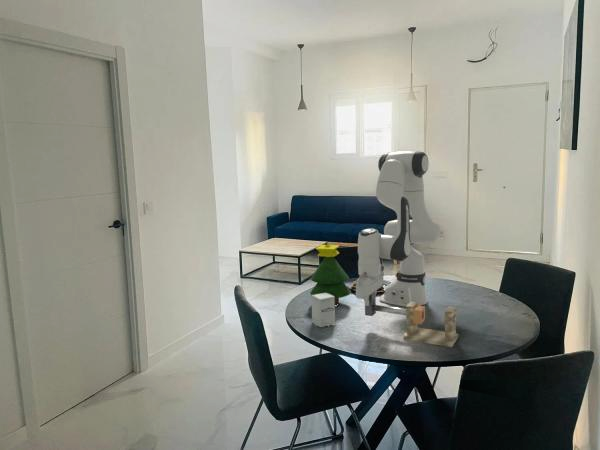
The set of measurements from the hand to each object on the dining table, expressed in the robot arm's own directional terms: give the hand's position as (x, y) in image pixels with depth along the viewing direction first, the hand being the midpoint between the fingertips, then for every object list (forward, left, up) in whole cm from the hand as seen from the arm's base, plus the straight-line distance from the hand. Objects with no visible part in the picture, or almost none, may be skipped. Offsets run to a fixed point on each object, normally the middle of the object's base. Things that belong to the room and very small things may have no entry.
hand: (370, 303), depth 189 cm
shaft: (+9, 0, -5) cm, 11 cm away
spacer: (+20, 0, -5) cm, 21 cm away
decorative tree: (-28, +20, -11) cm, 36 cm away
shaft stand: (+25, 0, -11) cm, 27 cm away
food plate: (-21, +52, -11) cm, 57 cm away
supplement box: (-19, -4, -11) cm, 23 cm away
